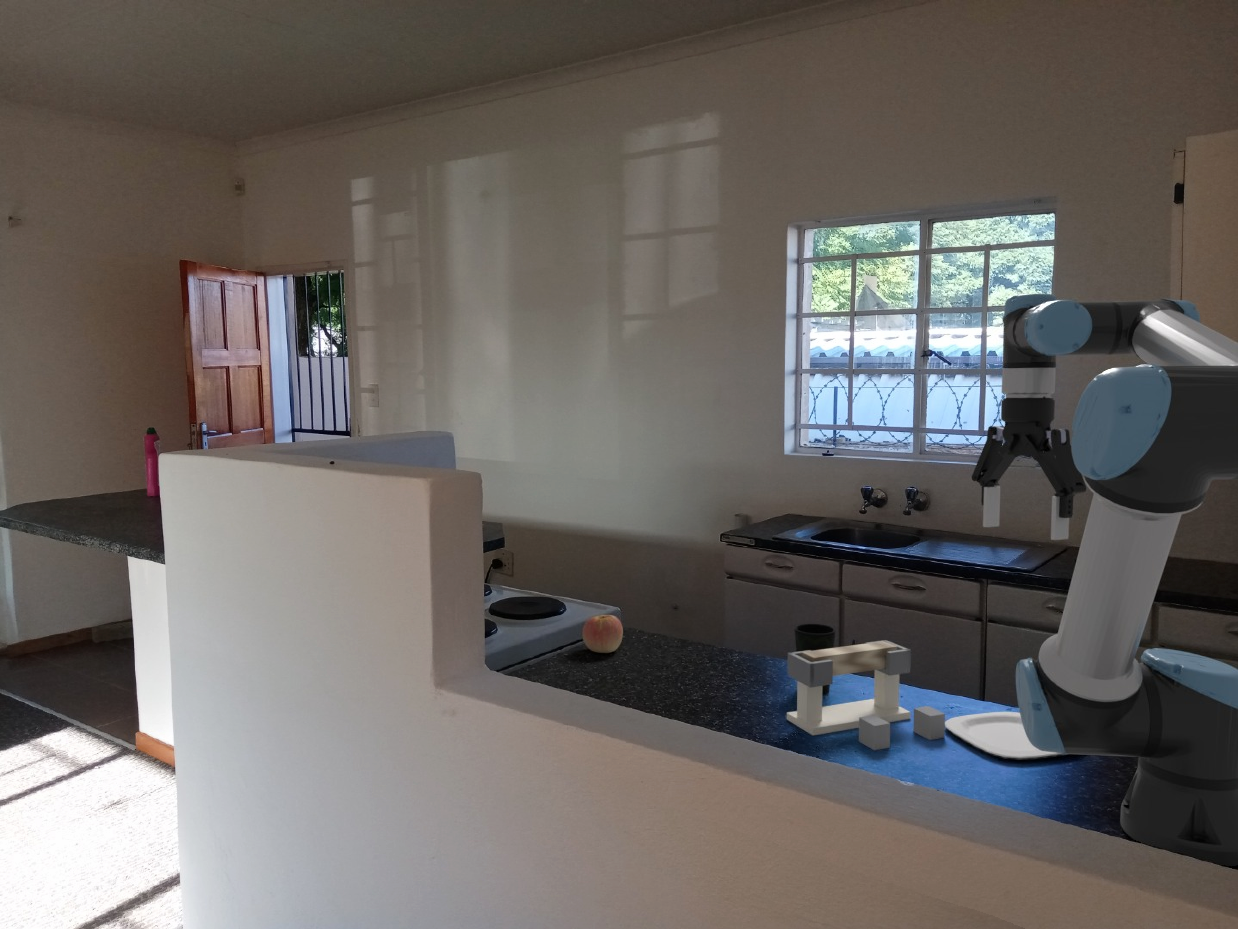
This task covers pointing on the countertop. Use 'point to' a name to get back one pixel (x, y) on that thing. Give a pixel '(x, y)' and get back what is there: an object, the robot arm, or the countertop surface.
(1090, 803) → the countertop surface
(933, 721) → the rests
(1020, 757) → the plate
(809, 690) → the bracket stand
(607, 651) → the apple
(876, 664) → the rail
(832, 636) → the cup
